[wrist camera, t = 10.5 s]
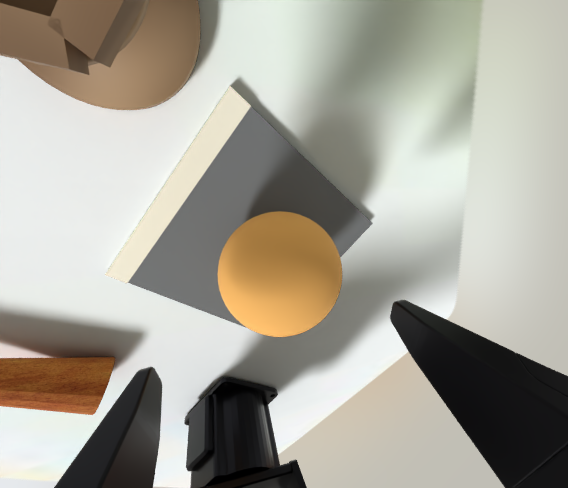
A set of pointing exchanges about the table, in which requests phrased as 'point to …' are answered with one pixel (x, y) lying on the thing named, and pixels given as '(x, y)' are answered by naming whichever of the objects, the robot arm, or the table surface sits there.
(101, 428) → the robot arm
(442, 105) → the table surface
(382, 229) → the table surface
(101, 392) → the kendama
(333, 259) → the rubber ball
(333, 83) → the table surface
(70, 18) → the ball tee
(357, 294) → the table surface
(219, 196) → the mat
